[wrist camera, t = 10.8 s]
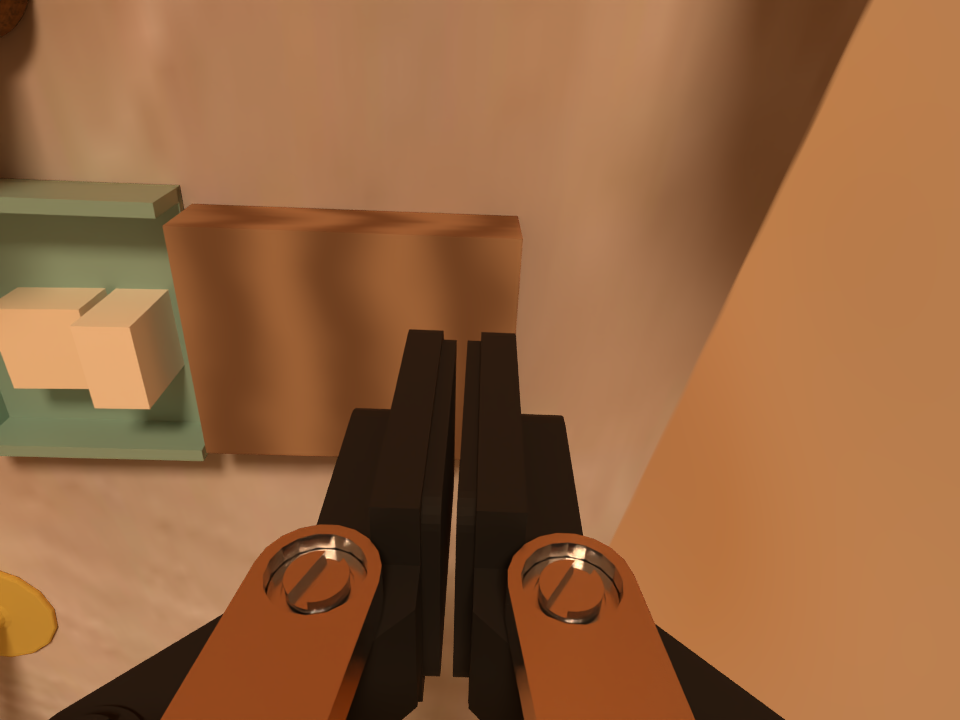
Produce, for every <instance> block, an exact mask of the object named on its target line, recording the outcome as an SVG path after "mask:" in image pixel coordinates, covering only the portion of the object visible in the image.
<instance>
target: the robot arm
mask: <svg viewBox="0 0 960 720" xmlns="http://www.w3.org/2000/svg"><path fill="white" fill-rule="evenodd" d="M456 359H457V340H444V331H443V330H416V329H409V331H408V335H407V339H406V344H405V348H404V353H403V357H402V361H401V366H400V370H399V375H398V379H397V383H396V388H395V392H394V397H393V401H392V405H391V409H373V408H355V409H354V410H353V412H352V414H351V417H350V420H349V423H348V426H347V430H346V433H345V436H344V439H343V442H342V446H341V449H340V452H339V455H338V458H337V462H336V465H335V468H334V471H333V474H332V478H331V481H330V484H329V487H328V490H327V494H326V497H325V500H324V503H323V506H322V510H321V513H320V516H319V519H318V522H317V525H315V526H309V527H304V528H300V529H297V530H295V531H293V532H290V533H288V534H286V535H283V536H281V537H280V538H279V539H277V540H276V541H274V542H273V543H272V544H270V545H269V546H268V547H266V548H265V550H264V551H263V552H262V553H261V554H260V556H259V557H258V558H257V559H256V561H255V562H254V563H253V565H252V567H251V569H250V570H249V572H248V574H247V575H246V577H245V579H244V580H243V582H242V584H241V585H240V587H239V589H238V590H237V592H236V594H235V595H234V597H233V599H232V600H231V602H230V604H229V605H228V607H227V609H226V611H225V612H224V614H222V615H221V616H219V617H217V618H216V619H214V620H212V621H211V622H209V623H207V624H206V625H204V626H202V627H201V628H199V629H197V630H196V631H194V632H192V633H190V634H189V635H187V636H185V637H184V638H182V639H180V640H179V641H177V642H175V643H174V644H172V645H170V646H169V647H167V648H165V649H164V650H162V651H160V652H159V653H157V654H155V655H154V656H152V657H150V658H149V659H147V660H145V661H144V662H142V663H140V664H139V665H137V666H135V667H134V668H132V669H130V670H129V671H127V672H125V673H124V674H122V675H120V676H119V677H117V678H115V679H114V680H112V681H110V682H109V683H107V684H105V685H104V686H102V687H100V688H99V689H97V690H95V691H94V692H92V693H90V694H89V695H87V696H85V697H84V698H82V699H80V700H79V701H77V702H75V703H74V704H72V705H70V706H69V707H67V708H65V709H64V710H62V711H60V712H58V713H57V714H56V715H54V716H53V717H52V718H50V719H49V720H402V719H403V718H404V717H406V716H407V715H408V714H409V713H410V712H412V711H413V710H414V709H415V708H416V707H417V705H418V702H422V701H423V691H424V680H425V676H440V671H441V658H442V644H443V630H444V616H445V602H446V588H447V574H448V560H449V546H450V532H451V518H452V504H453V490H454V460H455V409H456ZM453 677H469V696H468V703H469V709H470V710H471V711H472V712H473V713H474V714H475V715H476V716H477V717H478V719H479V720H785V719H783V718H782V717H781V716H779V715H778V714H776V713H775V712H774V711H772V710H771V709H770V708H768V707H767V706H766V705H764V704H763V703H762V702H760V701H759V700H757V699H756V698H755V697H754V696H752V695H750V694H749V693H748V692H747V691H745V690H744V689H743V688H741V687H740V686H739V685H737V684H736V683H734V682H733V681H732V680H730V679H729V678H728V677H726V676H725V675H724V674H722V673H721V672H720V671H718V670H717V669H715V668H714V667H713V666H711V665H710V664H708V663H707V662H706V661H705V660H703V659H702V658H700V657H699V656H698V655H696V654H695V653H694V652H692V651H691V650H690V649H688V648H687V647H686V646H684V645H683V644H682V643H680V642H679V641H677V640H676V639H675V638H673V637H672V636H671V635H669V634H668V633H667V632H665V631H664V630H662V629H661V628H660V627H658V626H657V625H656V624H655V623H654V621H653V619H652V616H651V614H650V611H649V609H648V607H647V605H646V602H645V600H644V597H643V595H642V592H641V590H640V588H639V586H638V583H637V581H636V578H635V576H634V574H633V572H632V571H631V569H630V568H629V566H628V565H627V563H626V561H625V560H624V559H623V558H622V557H621V556H620V555H618V554H617V553H616V552H615V551H614V550H613V549H612V548H610V547H608V546H607V545H605V544H603V543H601V542H599V541H597V540H595V539H593V538H589V537H586V536H583V532H582V526H581V519H580V513H579V507H578V501H577V495H576V489H575V482H574V476H573V470H572V464H571V458H570V452H569V445H568V439H567V433H566V427H565V422H564V418H563V416H561V415H534V414H521V406H520V391H519V376H518V362H517V347H516V334H515V333H495V332H481V341H470V340H468V341H467V356H466V372H465V388H464V404H463V420H462V436H461V452H460V468H459V484H458V501H457V525H456V566H455V609H454V652H453Z"/></svg>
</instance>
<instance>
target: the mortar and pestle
mask: <svg viewBox="0 0 960 720" xmlns="http://www.w3.org/2000/svg"><path fill="white" fill-rule="evenodd" d="M27 2H28V0H0V37H2V36H3V35H5V34H7V33H8V32H10V31H11V30H12V29H13V28H14V27H15V26H16V25H17V23H18V22H19V21H20V19H21V17H22V16H23V14H24V11H25V9H26V6H27Z"/></svg>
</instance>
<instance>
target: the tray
mask: <svg viewBox="0 0 960 720" xmlns="http://www.w3.org/2000/svg"><path fill="white" fill-rule="evenodd" d="M183 210H184V207H183V202H182V196H181V190H180V185H158V184H132V183H106V182H81V181H55V180H29V179H3V178H0V298H2V297H3V296H5V295H6V294H8V293H9V292H11V291H13V290H14V289H16V288H17V287H47V288H106V292H107V295H108V294H110V293H111V292H112V291H113V290H115V289H116V288H118V289H167V290H169V295H170V300H171V304H172V309H173V314H174V318H175V323H176V328H177V332H178V337H179V342H180V346H181V351H182V356H183V360H184V366H183V367H182V369H181V370H180V371H179V373H178V374H177V375H176V376H175V378H174V379H173V380H172V382H171V383H170V384H169V385H168V387H167V388H166V389H165V391H164V392H163V393H162V394H161V396H160V397H159V398H158V400H157V401H156V402H155V403H154V405H153V406H152V407H151V409H106V408H94V405H93V401H92V398H91V395H90V391H89V389H25V388H14V386H13V384H12V381H11V378H10V376H9V373H8V371H7V368H6V365H5V363H4V360H3V357H2V355H1V352H0V456H20V457H60V458H99V459H139V460H178V461H204V460H205V458H206V456H207V454H208V453H206V448H205V443H204V438H203V432H202V427H201V422H200V417H199V412H198V407H197V402H196V396H195V391H194V386H193V381H192V376H191V371H190V366H189V360H188V355H187V350H186V345H185V340H184V335H183V330H182V324H181V319H180V314H179V309H178V304H177V299H176V293H175V288H174V283H173V278H172V273H171V268H170V263H169V257H168V252H167V247H166V242H165V237H164V232H163V227H162V226H163V225H164V224H166V223H167V222H168V221H170V220H171V219H172V218H174V217H175V216H176V215H178V214H179V213H180V212H182V211H183Z"/></svg>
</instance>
